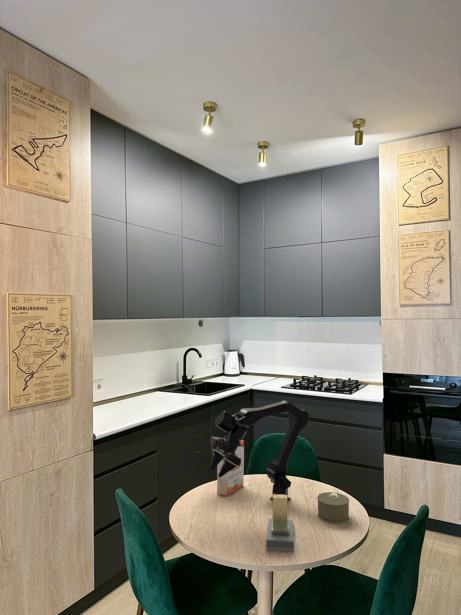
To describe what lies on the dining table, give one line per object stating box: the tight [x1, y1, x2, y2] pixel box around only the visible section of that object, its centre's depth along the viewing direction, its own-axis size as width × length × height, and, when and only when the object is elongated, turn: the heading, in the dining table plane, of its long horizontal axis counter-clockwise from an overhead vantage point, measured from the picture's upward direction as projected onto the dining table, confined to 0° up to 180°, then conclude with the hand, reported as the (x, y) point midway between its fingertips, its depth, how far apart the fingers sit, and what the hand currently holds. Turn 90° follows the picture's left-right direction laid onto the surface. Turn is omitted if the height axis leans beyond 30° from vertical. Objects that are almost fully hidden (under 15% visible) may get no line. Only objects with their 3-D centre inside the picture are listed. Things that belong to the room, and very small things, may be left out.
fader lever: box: [272, 494, 289, 535], centre depth 153 cm, size 5×6×12 cm
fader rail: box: [265, 518, 295, 554], centre depth 153 cm, size 20×9×4 cm, turn 173°
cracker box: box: [216, 439, 245, 497], centre depth 195 cm, size 14×6×21 cm, turn 148°
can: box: [316, 491, 350, 524], centre depth 169 cm, size 12×12×7 cm
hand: (214, 473), depth 173 cm, fingers open, 9 cm apart
